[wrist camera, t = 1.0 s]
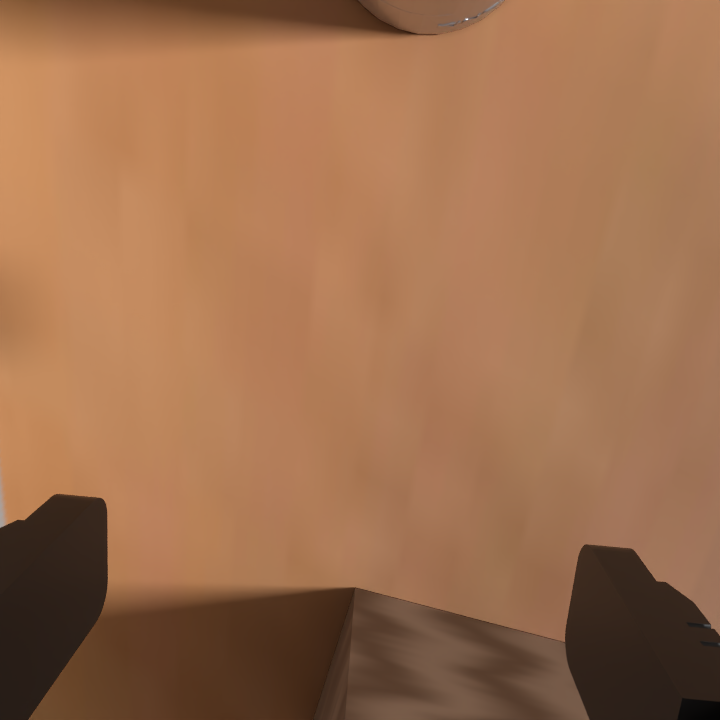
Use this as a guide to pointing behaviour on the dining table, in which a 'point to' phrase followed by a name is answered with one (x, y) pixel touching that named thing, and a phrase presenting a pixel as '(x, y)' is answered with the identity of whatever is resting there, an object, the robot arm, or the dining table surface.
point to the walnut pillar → (442, 668)
